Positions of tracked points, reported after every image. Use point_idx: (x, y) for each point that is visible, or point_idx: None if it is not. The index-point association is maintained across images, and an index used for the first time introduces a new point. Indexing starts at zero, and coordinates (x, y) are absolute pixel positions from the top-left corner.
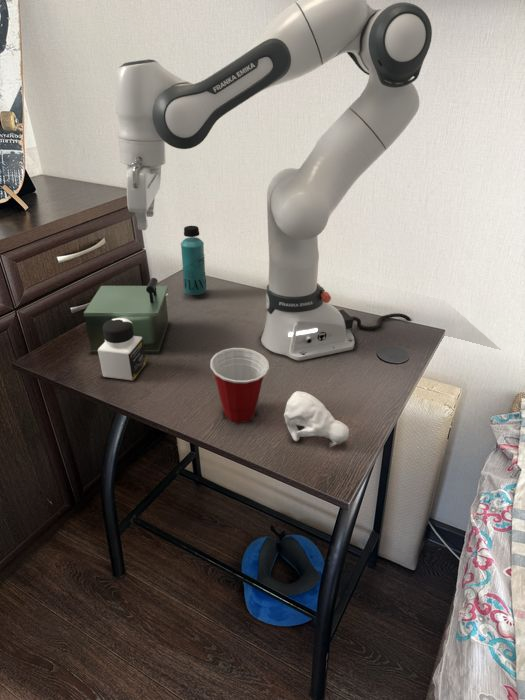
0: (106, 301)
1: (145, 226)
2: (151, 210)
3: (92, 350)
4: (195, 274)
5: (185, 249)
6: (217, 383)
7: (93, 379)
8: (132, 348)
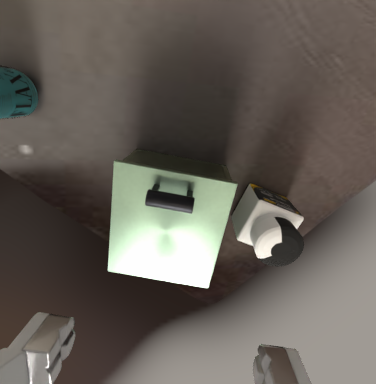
0: (173, 262)
1: (301, 365)
2: (55, 350)
3: None
4: (3, 90)
5: None
6: None
7: None
8: (292, 213)
